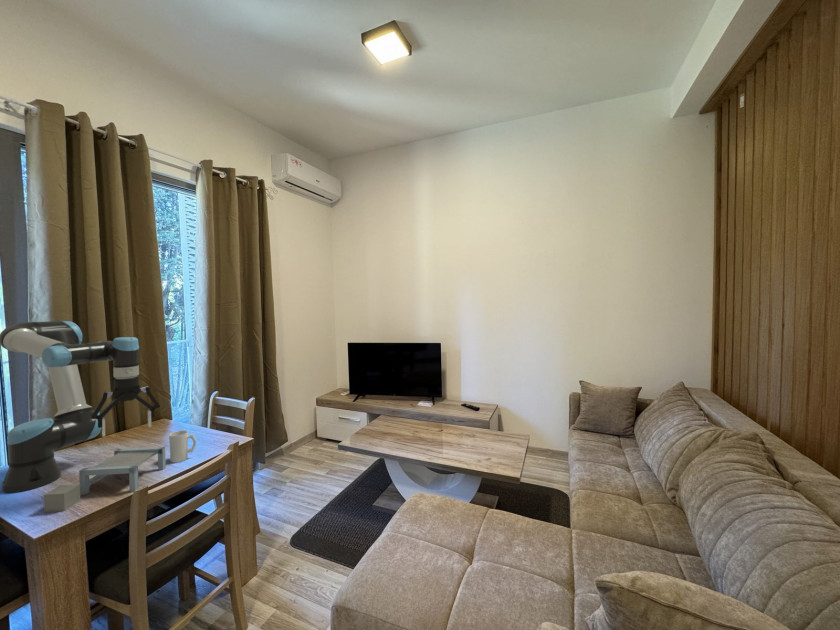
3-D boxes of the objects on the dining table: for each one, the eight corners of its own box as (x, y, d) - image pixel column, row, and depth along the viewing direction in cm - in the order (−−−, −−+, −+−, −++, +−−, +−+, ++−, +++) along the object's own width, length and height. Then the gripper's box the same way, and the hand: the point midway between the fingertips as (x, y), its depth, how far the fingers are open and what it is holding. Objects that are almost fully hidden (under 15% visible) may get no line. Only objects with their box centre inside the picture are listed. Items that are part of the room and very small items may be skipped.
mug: (167, 464, 146) (166, 436, 146) (172, 457, 153) (172, 431, 152) (193, 460, 150) (193, 434, 149) (198, 454, 156) (198, 428, 156)
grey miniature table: (79, 494, 122) (79, 470, 122) (118, 470, 141) (117, 449, 140) (135, 491, 125) (134, 467, 125) (165, 467, 143) (165, 446, 143)
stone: (44, 512, 112) (44, 494, 112) (61, 502, 118) (60, 485, 118) (64, 511, 113) (64, 493, 113) (80, 500, 119) (79, 484, 119)
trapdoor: (90, 471, 125) (90, 468, 125) (119, 454, 138) (119, 452, 138) (132, 470, 126) (132, 467, 126) (156, 453, 140) (156, 451, 140)
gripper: (81, 383, 119) (82, 442, 120) (168, 373, 137) (168, 425, 138) (80, 380, 124) (82, 436, 125) (164, 371, 142) (165, 420, 143)
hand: (127, 430), depth 132 cm, fingers open, 13 cm apart
